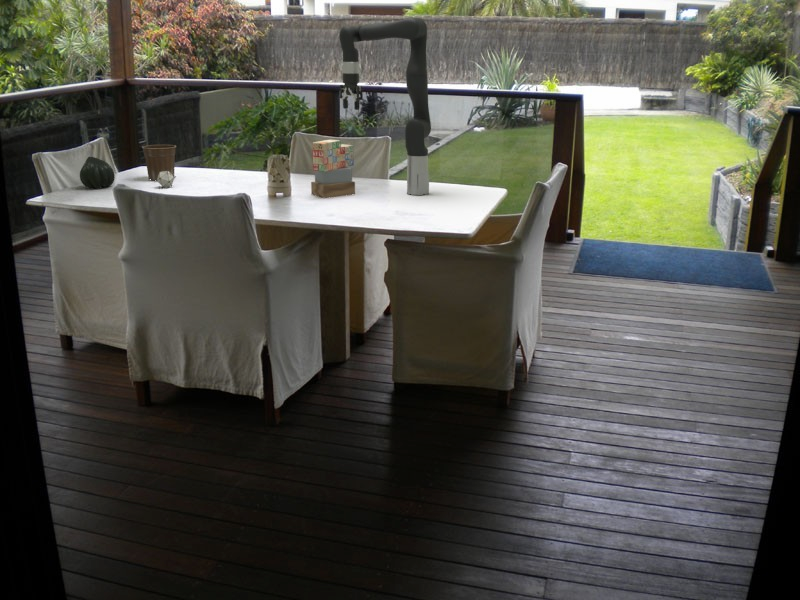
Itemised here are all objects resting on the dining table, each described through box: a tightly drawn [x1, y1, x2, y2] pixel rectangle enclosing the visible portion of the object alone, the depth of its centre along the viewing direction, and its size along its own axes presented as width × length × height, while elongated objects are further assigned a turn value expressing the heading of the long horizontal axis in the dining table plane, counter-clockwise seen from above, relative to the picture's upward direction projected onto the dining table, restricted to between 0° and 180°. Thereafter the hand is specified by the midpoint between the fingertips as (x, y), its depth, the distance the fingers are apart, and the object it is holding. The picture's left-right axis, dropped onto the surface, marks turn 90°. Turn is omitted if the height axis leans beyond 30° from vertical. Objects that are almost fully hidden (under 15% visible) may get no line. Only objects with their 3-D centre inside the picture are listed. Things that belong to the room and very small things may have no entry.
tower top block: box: [314, 166, 353, 185], centre depth 377 cm, size 9×14×6 cm, turn 119°
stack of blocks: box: [311, 139, 355, 172], centre depth 375 cm, size 21×6×12 cm, turn 146°
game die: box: [155, 170, 177, 189], centre depth 394 cm, size 9×8×10 cm
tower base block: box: [310, 180, 356, 199], centre depth 379 cm, size 11×16×6 cm
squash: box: [79, 156, 116, 190], centre depth 393 cm, size 14×15×15 cm
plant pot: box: [141, 144, 177, 181], centre depth 415 cm, size 16×16×16 cm
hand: (351, 109), depth 387 cm, fingers open, 8 cm apart
